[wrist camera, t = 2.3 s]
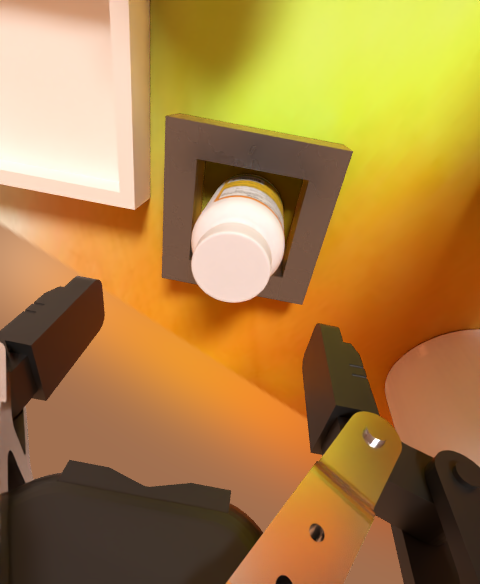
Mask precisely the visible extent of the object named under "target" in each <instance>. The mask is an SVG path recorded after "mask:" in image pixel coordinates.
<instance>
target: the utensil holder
mask: <svg viewBox="0 0 480 584" xmlns="http://www.w3.org/2000/svg"><path fill="white" fill-rule="evenodd" d="M385 394H386V399H387V403H388V407H389V410H390V413H391V417H392V420H393V423H394V427H395V430H396V432H397V433H398V435H399V437H400V440H401V441H402V442H403V443H405V444H407V445H408V446H411V447H413V448H415V449H417V450H419V451H421V452H423V453H425V454H427V455H429V456H431V457H433V458H434V457H435V456H436V455H437V454H438V453H439V452H440V451H443V450H451V451H455V452H458V453H460V454H462V455H464V456H466V457H468V458H469V459H470V460H472V461H473V462H474V463H476V464H477V465H478V466H479V467H480V329H474V330H463V331H457V332H453V333H448V334H445V335H441V336H438V337H435V338H433V339H430V340H428V341H426V342H424V343H422V344H420V345H418V346H416V347H415V348H413V349H411V350H410V351H409V352H407V353H406V354H405V355H403V356H402V357H401V358H400V359H399V360H398V361H397V362H396V363H395V364H394V366H393V367H392V368H391V370H390V371H389V373H388V376H387V379H386V382H385Z"/></svg>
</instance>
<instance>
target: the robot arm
mask: <svg viewBox="0 0 480 584" xmlns="http://www.w3.org/2000/svg"><path fill="white" fill-rule="evenodd" d="M103 321H104V302H103V291H102V283H101V281H100V280H96V279H91V278H86V277H81V276H76V277H75V278H74V279H73V280H71V281H70V282H69V283H68V284H67V285H66V286H65V287H57V288H55V289H53V290H51V291H48V292H46V293H44V294H43V295H42V296H41V297H40V298H38V299H37V300H36V301H35V302H34V304H31V305H30V306H29V307H28V308H27V309H26V310H25V312H24V311H23V312H22V313H21V314H20V315H18V316H17V317H16V318H15V319H14V320H13V321H11V322H10V323H9V324H8V325H7V326H5V327H4V328H3V329H2V330H1V331H0V584H344V582H345V580H346V578H347V576H348V573H349V571H350V569H351V567H352V565H353V563H354V561H355V558H356V556H357V554H358V552H359V550H360V548H361V546H362V544H363V541H364V539H365V537H366V535H367V533H368V531H369V529H370V526H371V524H372V522H373V520H374V517H375V515H376V516H378V517H380V518H381V519H383V520H385V521H387V522H389V523H390V524H391V527H392V532H393V537H394V541H395V545H396V550H397V554H398V559H399V563H400V568H401V573H402V577H403V582H404V584H480V467H479V466H478V465H477V464H476V463H474V462H473V461H472V460H470V459H469V458H468V457H466V456H464V455H462V454H460V453H458V452H455V451H451V450H443V451H440V452H439V453H438V454H437V455H436V456H435V457H434V458H433V457H431V456H429V455H427V454H425V453H423V452H421V451H419V450H417V449H415V448H413V447H411V446H408V445H407V444H405V443H403V442H402V441H401V440H400V437H399V435H398V433H397V432H396V430H395V429H394V428H393V426H392V425H391V424H390V423H389V422H388V421H386V420H385V419H384V418H382V417H380V415H379V412H378V409H377V406H376V403H375V400H374V397H373V394H372V391H371V388H370V385H369V382H368V379H366V377H367V376H366V373H365V370H364V369H363V364H362V361H361V358H360V355H359V353H358V352H357V351H356V350H355V348H354V347H353V346H352V345H351V344H350V343H345V342H343V340H342V336H341V333H340V329H339V328H338V327H335V326H330V325H324V324H319V323H318V324H316V326H315V328H314V331H313V333H312V336H311V339H310V341H309V344H308V346H307V349H306V351H305V354H304V358H303V366H302V370H303V380H304V390H305V400H306V410H307V420H308V429H309V440H310V449H311V453H316V454H321V455H322V458H321V459H320V460H319V462H318V461H317V462H316V463H315V464H314V466H313V467H312V468H311V470H310V471H309V472H308V474H307V475H306V477H305V478H304V479H303V480H302V482H301V483H300V484H299V486H298V487H297V489H296V490H295V491H294V492H293V494H292V495H291V497H290V498H289V499H288V501H287V502H286V503H285V505H284V506H283V507H282V509H281V510H280V511H279V513H278V514H277V515H276V517H275V518H274V519H273V521H272V522H271V523H270V525H269V526H268V527H267V529H266V530H265V532H264V533H263V532H262V531H261V529H260V528H259V527H258V526H257V525H256V523H255V522H254V521H253V520H252V519H251V518H250V517H249V516H247V514H246V513H244V512H243V511H241V510H240V509H239V508H237V507H236V506H234V505H232V504H230V494H231V491H230V490H225V489H219V488H214V487H209V486H203V485H199V484H193V483H188V484H177V485H166V486H156V487H146V486H143V485H141V484H139V483H137V482H136V481H134V480H132V479H130V478H128V477H126V476H124V475H122V474H120V473H118V472H117V471H115V470H113V469H111V468H109V467H104V466H98V465H93V464H88V463H82V462H77V461H72V460H69V462H68V463H67V465H66V467H65V469H64V470H63V472H62V473H57V474H53V475H48V476H44V477H41V478H38V479H35V480H33V476H32V472H31V467H30V457H29V443H28V429H27V416H26V408H25V405H26V404H27V403H28V402H29V401H30V399H31V398H34V399H40V400H45V401H46V400H47V399H48V398H49V396H50V395H51V394H52V392H53V391H54V390H55V388H56V387H57V386H58V385H59V383H60V382H61V381H62V379H63V378H64V377H65V375H66V374H67V373H68V371H69V370H70V369H71V367H72V366H73V365H74V363H75V362H76V361H77V360H78V358H79V357H80V356H81V354H82V353H83V352H84V350H85V349H86V348H87V346H88V345H89V343H90V342H91V341H92V340H93V338H94V337H95V336H96V334H97V333H98V332H99V330H100V328H101V327H102V324H103Z"/></svg>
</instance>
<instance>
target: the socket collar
mask: <svg viewBox="0 0 480 584" xmlns="http://www.w3.org/2000/svg"><path fill="white" fill-rule="evenodd" d="M352 153H353V151H352V150H350V149H349V148H348V147H346V146H345V145H343V144H338V143H332V142H327V141H322V140H317V139H311V138H306V137H301V136H296V135H290V134H285V133H280V132H275V131H269V130H264V129H259V128H254V127H248V126H243V125H238V124H233V123H227V122H222V121H217V120H212V119H206V118H201V117H196V116H191V115H185V114H180V113H179V114H173V115H167V116H166V124H165V168H164V212H163V256H162V278H166V279H172V280H177V281H182V282H187V283H192V284H197V283H196V281H195V279H194V276H193V273H192V268H191V260H192V256H193V252H192V247H191V237H192V231H193V228H194V226H195V223H196V221H197V219H198V217H199V216H200V214H201V207H202V196H203V185H204V174H205V163H206V161H210V162H215V163H221V164H226V165H231V166H236V167H242V168H247V169H252V170H257V171H263V172H268V173H273V174H278V175H284V176H289V177H294V178H299V179H303V182H302V186H301V190H300V194H299V198H298V202H297V205H296V209H295V213H294V217H293V221H292V224H291V228H290V232H289V236H288V240H287V244H286V247H285V251H284V255H283V259H282V261H281V263H280V265H279V267H278V268H277V270H276V271H275V272H274V273H273V274H272V275H271V276H270V278H269V281H268V283H267V285H266V286H265V288H264V289H263V290H262V291H261V292H260V293H259V294H258V295H257V296H259V297H265V298H270V299H275V300H280V301H285V302H290V303H296V304H301V305H302V304H303V301H304V298H305V295H306V292H307V289H308V286H309V283H310V279H311V276H312V273H313V270H314V267H315V264H316V261H317V258H318V255H319V252H320V249H321V246H322V243H323V240H324V237H325V234H326V231H327V228H328V225H329V222H330V219H331V216H332V213H333V210H334V207H335V204H336V201H337V198H338V195H339V192H340V189H341V186H342V183H343V180H344V177H345V174H346V171H347V168H348V165H349V162H350V159H351V156H352ZM197 285H198V284H197Z"/></svg>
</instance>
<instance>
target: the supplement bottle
mask: <svg viewBox="0 0 480 584" xmlns="http://www.w3.org/2000/svg"><path fill="white" fill-rule="evenodd" d="M191 247H192V252H193V256H192V260H191V268H192V273H193V276H194V279H195V281H196V283H197V284H198V285H199V287H200V288H201V289H202V290H203V291H204V292H205V293H206V294H208V295H209V296H211V297H213V298H215V299H217V300H220V301H223V302H230V303H237V302H243V301H247V300H250V299H252V298H254V297H255V296H257V295H258V294H259V293H260V292H261V291H262V290H263V289H264V288H265V286H266V285H267V283H268V281H269V278H270V276H271V275H272V274H273V273H274V272H275V271H276V270H277V268H278V267H279V265H280V263H281V261H282V258H283V254H284V248H285V237H284V212H283V204H282V200H281V197H280V195H279V193H278V191H277V190H276V188H275V187H274V186H273V185H272V184H271V183H270V182H269V181H267V180H266V179H264V178H262V177H260V176H257V175H253V174H240V175H236V176H233V177H231V178H229V179H227V180H226V181H225V182H223V183H222V184H221V185H220V186H219V188H218V189H217V190H216V192H215V193H214V195H213V196H212V198H211V199H210V201H209V202H208V204H207V205H206V207H205V208H204V210H203V211H202V213H201V214H200V216H199V217H198V219H197V221H196V223H195V226H194V228H193V231H192V237H191Z"/></svg>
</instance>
